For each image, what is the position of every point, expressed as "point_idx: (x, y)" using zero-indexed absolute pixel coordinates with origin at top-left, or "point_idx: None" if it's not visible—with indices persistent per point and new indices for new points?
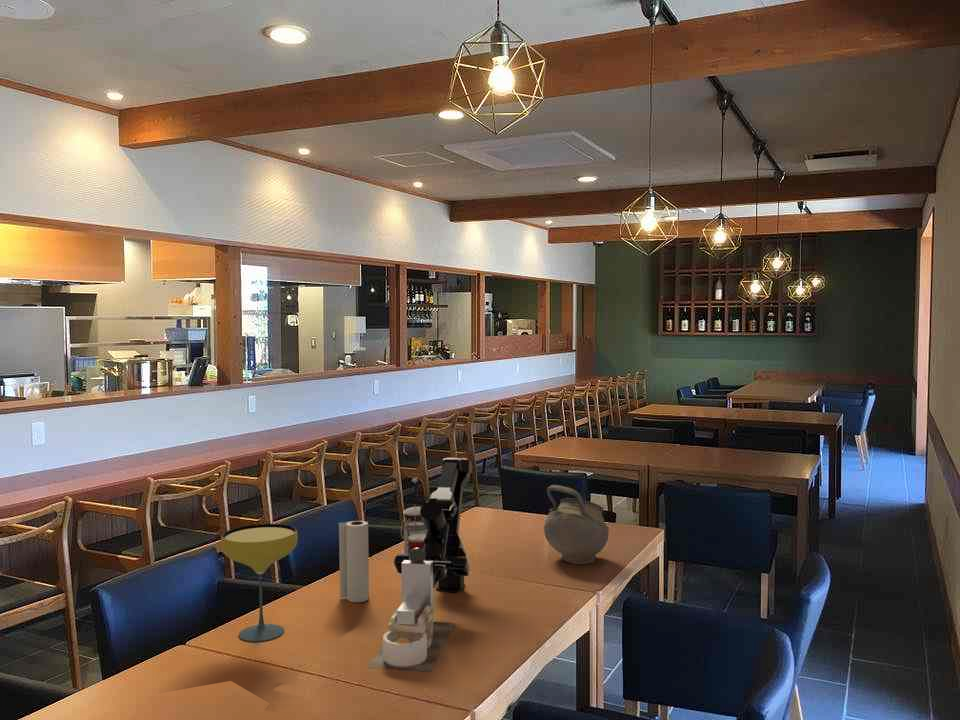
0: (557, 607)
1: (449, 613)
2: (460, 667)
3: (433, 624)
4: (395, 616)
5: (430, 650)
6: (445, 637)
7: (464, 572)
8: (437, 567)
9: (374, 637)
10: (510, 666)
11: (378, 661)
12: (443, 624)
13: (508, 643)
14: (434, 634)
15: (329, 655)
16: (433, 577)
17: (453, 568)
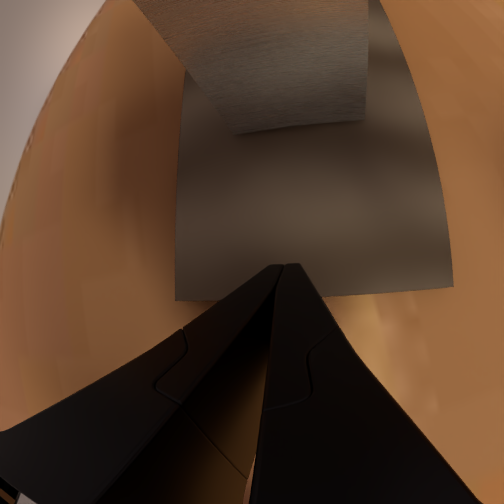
0: None
1: None
2: (142, 37)
3: (217, 109)
4: None
5: None
6: (186, 136)
7: (13, 494)
8: (13, 443)
9: (482, 133)
10: (54, 92)
11: None
12: (221, 271)
13: (40, 204)
14: (235, 149)
15: (499, 19)
16: (152, 354)
17: (3, 494)
